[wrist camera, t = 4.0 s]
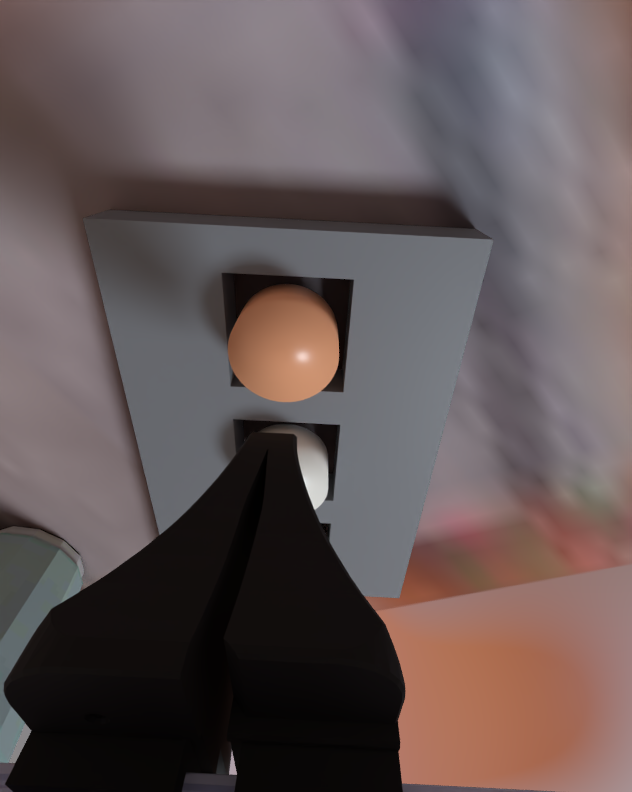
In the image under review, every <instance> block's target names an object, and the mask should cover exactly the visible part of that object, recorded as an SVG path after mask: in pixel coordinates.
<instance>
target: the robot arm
mask: <svg viewBox="0 0 632 792" xmlns="http://www.w3.org/2000/svg"><path fill="white" fill-rule="evenodd" d="M3 691H4V695H5V697H6V699H7V701H8V703H9V704H10V706H11V707H12V708H13V709H14V710H15V712H16V713H17V714H18V715H19V716H20V717H21V719H22V720H23V721H24V722H25V723H26V725H27V726H28V727H29V728H30V729H31V730H32V731H31V733H30V735H29V738H28V739H27V741H26V743H25V745H24V747H23V749H22V751H21V753H20V755H19V757H18V759H17V761H16V763H0V792H552V791H534V790H514V789H496V788H476V787H457V786H439V785H420V784H402V781H401V771H400V762H399V753H398V750H399V749H400V737H399V728H398V718H399V715H400V712H401V709H402V706H403V703H404V700H405V683H404V678H403V674H402V670H401V667H400V663H399V660H398V657H397V654H396V651H395V648H394V645H393V643H392V640H391V638H390V635H389V633H388V630H387V628H386V625H385V624H384V622H383V621H382V619H381V618H380V617H379V615H378V614H377V613H376V612H375V610H374V609H373V608H372V606H371V605H370V604H369V602H368V601H367V600H366V598H365V597H364V596H363V594H362V593H361V591H360V590H359V588H358V587H357V585H356V584H355V583H354V581H353V580H352V578H351V577H350V575H349V573H348V572H347V570H346V569H345V567H344V565H343V564H342V562H341V560H340V559H339V557H338V555H337V554H336V552H335V550H334V549H333V547H332V545H331V543H330V541H329V539H328V537H327V536H326V534H325V532H324V529H323V527H322V525H321V523H320V521H319V519H318V517H317V514H316V512H315V510H314V507H313V505H312V502H311V500H310V497H309V494H308V491H307V488H306V485H305V482H304V479H303V475H302V472H301V468H300V464H299V459H298V453H297V437H296V436H295V435H294V434H287V433H264V432H252V433H251V434H250V435H249V436H248V437H247V439H246V441H245V442H244V444H243V445H242V446H241V448H240V449H239V451H238V452H237V453H236V455H235V456H234V458H233V459H232V460H231V462H230V463H229V464H228V465H227V467H226V468H225V469H224V470H223V472H222V473H221V474H220V475H219V476H218V478H217V479H216V480H215V481H214V482H213V484H212V485H211V486H210V487H209V488H208V489H207V490H206V491H205V492H204V493H203V495H202V496H201V497H200V498H199V499H198V500H197V501H196V502H195V503H194V504H193V505H192V506H191V507H190V508H189V509H188V510H187V511H186V512H185V513H184V514H183V515H182V516H181V517H180V518H179V519H178V520H176V521H175V522H174V523H173V524H172V525H171V526H170V527H169V528H167V529H166V530H165V531H164V532H163V533H162V534H160V535H159V536H158V537H157V538H156V539H154V540H153V541H152V542H151V543H150V544H148V545H147V546H146V547H145V548H143V549H142V550H141V551H139V552H138V553H137V554H135V555H134V556H132V557H131V558H130V559H128V560H127V561H125V562H124V563H123V564H121V565H120V566H119V567H117V568H116V569H114V570H113V571H112V572H110V573H109V574H107V575H106V576H104V577H103V578H101V579H100V580H98V581H97V582H95V583H93V584H92V585H90V586H88V587H87V588H85V589H83V590H82V591H80V592H78V593H77V594H75V595H73V596H72V597H70V598H68V599H67V600H65V601H64V602H62V603H60V604H58V605H57V606H55V607H53V608H52V609H51V610H50V611H49V613H48V614H47V616H46V617H45V618H44V620H43V621H42V622H41V624H40V625H39V627H38V628H37V629H36V631H35V632H34V634H33V636H32V637H31V639H30V640H29V642H28V644H27V645H26V647H25V649H24V650H23V652H22V654H21V655H20V657H19V659H18V660H17V662H16V664H15V665H14V667H13V669H12V670H11V672H10V674H9V675H8V677H7V679H6V680H5V682H4V690H3ZM232 751H233V756H234V761H235V766H236V771H237V775H229V768H230V760H231V752H232Z"/></svg>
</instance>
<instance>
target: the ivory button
mask: <svg viewBox="0 0 632 792" xmlns="http://www.w3.org/2000/svg"><path fill="white" fill-rule="evenodd" d="M259 432H264V433H287V434H294V435H295V436H296V437H297V453H298V459H299V464H300V468H301V472H302V475H303V479H304V482H305V485H306V488H307V491H308V494H309V497H310V500H311V502H312V505H313V507H314V510H315V509H317V508H318V507H319V506H320V505H321V504H322V503H323V502H324V500H325V498H326V496H327V493H328V451H327V448H326V446H325V444H324V442H323V441H322V440H321V439H320V438H319V437H318V436H317V435H316V434H315V433H314V432H312V431H310V430H308V429H306V428H304V427H301V426H298V425H293V424H277V425H272V426H269V427H266V428H264V429H262V430H260V431H259Z"/></svg>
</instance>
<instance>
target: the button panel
mask: <svg viewBox="0 0 632 792" xmlns="http://www.w3.org/2000/svg"><path fill="white" fill-rule="evenodd" d="M83 221H84V226H85V230H86V234H87V238H88V242H89V246H90V250H91V254H92V259H93V263H94V267H95V271H96V275H97V279H98V283H99V287H100V291H101V296H102V300H103V304H104V308H105V312H106V316H107V320H108V324H109V329H110V333H111V337H112V341H113V345H114V349H115V353H116V357H117V361H118V366H119V370H120V374H121V378H122V382H123V386H124V390H125V394H126V399H127V403H128V407H129V411H130V415H131V419H132V423H133V427H134V432H135V436H136V440H137V444H138V448H139V452H140V456H141V460H142V464H143V469H144V473H145V477H146V481H147V485H148V489H149V493H150V497H151V502H152V506H153V510H154V514H155V518H156V522H157V526H158V530H159V534H162V533H163V532H164V531H165V530H166V529H167V528H169V527H170V526H171V525H172V524H173V523H174V522H175V521H176V520H178V519H179V518H180V517H181V516H182V515H183V514H184V513H185V512H186V511H187V510H188V509H189V508H190V507H191V506H192V505H193V504H194V503H195V502H196V501H197V500H198V499H199V498H200V497H201V496H202V495H203V493H204V492H205V491H206V490H207V489H208V488H209V487H210V486H211V485H212V484H213V482H214V481H215V480H216V479H217V478H218V476H219V475H220V474H221V473H222V472H223V470H224V469H225V468H226V467H227V465H228V464H229V463H230V462H231V460H232V459H233V458H234V456H235V455H236V453H237V452H238V451H239V449H240V448H241V446H242V445H243V444H244V430H243V420H258V421H277V422H296V423H315V424H334V425H337V435H336V446H335V457H334V468H333V474H330V473H328V493H327V496H326V498H325V500H324V502H323V503H322V504H321V505H320V506H319V507H318V508H317V509H315V512H316V514H317V517H318V519H319V521H320V523H329V524H328V536H327V537H328V539H329V541H330V543H331V545H332V547H333V549H334V550H335V552H336V554H337V555H338V557H339V559H340V560H341V562H342V564H343V565H344V567H345V569H346V570H347V572H348V573H349V575H350V577H351V578H352V580H353V581H354V583H355V584H356V585H357V587H358V588H359V590H360V591H361V593H362V594H363V596H371V597H390V598H399V597H400V593H401V589H402V585H403V582H404V578H405V574H406V570H407V566H408V563H409V559H410V555H411V551H412V548H413V544H414V540H415V536H416V532H417V529H418V525H419V521H420V517H421V513H422V510H423V506H424V502H425V498H426V494H427V491H428V487H429V483H430V479H431V475H432V472H433V468H434V464H435V460H436V456H437V453H438V449H439V445H440V441H441V437H442V434H443V430H444V426H445V422H446V418H447V415H448V411H449V407H450V403H451V399H452V396H453V392H454V388H455V384H456V381H457V377H458V373H459V369H460V365H461V362H462V358H463V354H464V350H465V346H466V343H467V339H468V335H469V331H470V327H471V324H472V320H473V316H474V312H475V308H476V305H477V301H478V297H479V293H480V289H481V286H482V282H483V278H484V274H485V270H486V267H487V263H488V259H489V255H490V251H491V248H492V244H493V239H492V238H490V237H488V236H487V235H485V234H483V233H482V232H480V231H479V230H477V229H470V228H451V227H431V226H412V225H393V224H374V223H355V222H335V221H316V220H297V219H278V218H259V217H240V216H220V215H201V214H182V213H163V212H144V211H124V210H107V211H104V212H101V213H98V214H95V215H91V216H88V217H85V218H83ZM234 273H238V274H258V275H277V276H296V277H315V278H334V279H350V289H349V300H348V311H347V322H346V334H345V345H344V356H343V367H342V370H336V372H335V374H334V377H333V378H332V380H331V381H330V383H329V384H328V385H327V386H326V387H325V388H324V389H323V390H321V391H320V392H319V393H317V394H316V395H314V396H312V397H310V398H307V399H304V400H301V401H296V402H277V401H272V400H269V399H266V398H263V397H261V396H258V395H257V394H255V393H253V392H252V391H250V390H249V389H248V388H246V387H245V386H244V385H243V384H242V383H241V382H240V380H239V379H238V378H237V377H236V375H235V373H234V372H233V369H232V367H231V365H230V361H229V357H228V341H229V337H230V334H231V331H232V329H233V327H234V325H235V323H236V321H237V320H236V304H235V289H234Z"/></svg>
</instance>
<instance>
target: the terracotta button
mask: <svg viewBox="0 0 632 792" xmlns="http://www.w3.org/2000/svg"><path fill="white" fill-rule="evenodd" d="M228 357H229V361H230V365H231V367H232V369H233V372H234V373H235V375H236V377H237V378H238V379H239V380H240V382H241V383H242V384H243V385H244V386H245V387H246V388H248V389H249V390H250V391H252V392H253V393H255V394H257V395H258V396H261V397H263V398H266V399H269V400H272V401H277V402H296V401H301V400H304V399H307V398H310V397H312V396H314V395H316V394H317V393H319V392H320V391H321V390H323V389H324V388H325V387H326V386H327V385H328V384H329V383H330V381H331V380H332V378H333V377H334V374H335V372H336V370H337V367H338V362H339V339H338V325H337V321H336V317H335V315H334V313H333V311H332V309H331V308H330V306H329V305H328V303H327V302H326V301H325V300H324V299H323V298H322V297H321V296H320V295H318V294H317V293H315V292H314V291H312V290H310V289H308V288H306V287H303V286H299V285H295V284H277V285H273V286H269V287H266V288H264V289H262V290H260V291H259V292H257V293H256V294H255V295H253V296H252V297H251V298H250V299H249V300H248V302H247V303H246V304H245V306H244V308H243V310H242V312H241V313H240V315H239V317H238V319H237V321H236V323H235V325H234V327H233V329H232V331H231V334H230V337H229V341H228Z"/></svg>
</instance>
